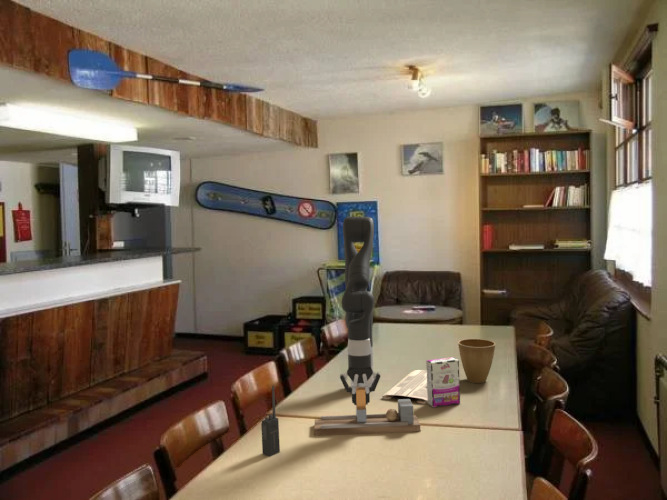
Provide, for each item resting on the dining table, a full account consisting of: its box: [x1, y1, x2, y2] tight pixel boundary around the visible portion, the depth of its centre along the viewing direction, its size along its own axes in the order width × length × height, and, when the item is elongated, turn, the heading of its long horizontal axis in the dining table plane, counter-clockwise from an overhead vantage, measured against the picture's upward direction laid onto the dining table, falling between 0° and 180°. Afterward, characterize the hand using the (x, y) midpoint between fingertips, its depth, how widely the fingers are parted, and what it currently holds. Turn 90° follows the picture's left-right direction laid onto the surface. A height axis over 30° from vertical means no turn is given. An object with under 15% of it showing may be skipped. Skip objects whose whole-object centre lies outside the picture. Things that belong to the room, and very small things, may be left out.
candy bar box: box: [425, 356, 461, 408], centre depth 210 cm, size 11×5×16 cm, turn 105°
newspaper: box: [381, 369, 428, 405], centre depth 232 cm, size 37×19×3 cm, turn 154°
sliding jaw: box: [355, 387, 367, 424], centre depth 189 cm, size 7×3×11 cm, turn 2°
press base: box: [314, 398, 421, 436], centre depth 189 cm, size 9×34×8 cm, turn 92°
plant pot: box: [457, 338, 496, 384], centre depth 238 cm, size 15×15×16 cm
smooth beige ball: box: [385, 408, 398, 421], centre depth 189 cm, size 4×4×4 cm
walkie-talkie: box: [260, 385, 281, 457], centre depth 171 cm, size 5×3×20 cm
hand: (360, 403), depth 189 cm, fingers closed on sliding jaw, 3 cm apart
